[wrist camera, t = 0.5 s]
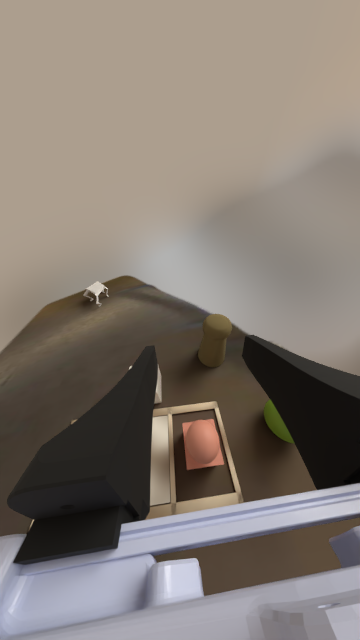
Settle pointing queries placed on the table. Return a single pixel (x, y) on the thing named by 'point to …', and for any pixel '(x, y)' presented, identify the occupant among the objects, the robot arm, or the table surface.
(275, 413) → the snail figurine
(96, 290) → the white toy table
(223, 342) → the cork
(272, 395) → the robot arm
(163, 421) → the board
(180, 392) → the table surface
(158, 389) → the die
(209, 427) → the pawn
